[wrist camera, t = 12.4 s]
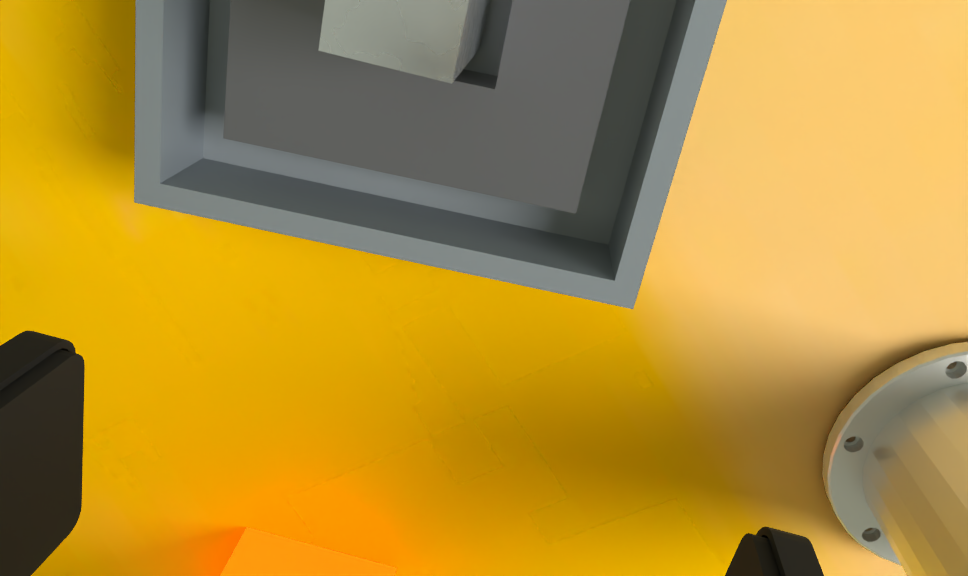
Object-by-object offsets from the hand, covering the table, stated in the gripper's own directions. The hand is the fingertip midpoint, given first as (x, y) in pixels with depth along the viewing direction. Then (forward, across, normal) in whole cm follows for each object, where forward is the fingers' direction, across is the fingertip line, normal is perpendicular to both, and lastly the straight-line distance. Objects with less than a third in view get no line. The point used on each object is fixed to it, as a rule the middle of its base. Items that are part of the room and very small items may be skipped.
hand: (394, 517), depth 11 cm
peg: (+23, +5, -6) cm, 24 cm away
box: (+24, +5, -6) cm, 25 cm away
